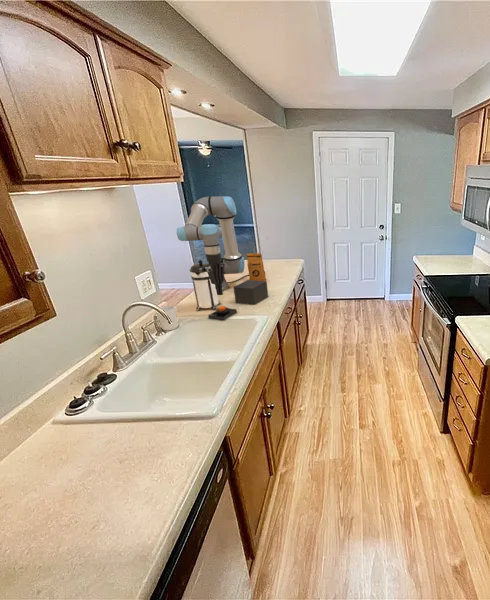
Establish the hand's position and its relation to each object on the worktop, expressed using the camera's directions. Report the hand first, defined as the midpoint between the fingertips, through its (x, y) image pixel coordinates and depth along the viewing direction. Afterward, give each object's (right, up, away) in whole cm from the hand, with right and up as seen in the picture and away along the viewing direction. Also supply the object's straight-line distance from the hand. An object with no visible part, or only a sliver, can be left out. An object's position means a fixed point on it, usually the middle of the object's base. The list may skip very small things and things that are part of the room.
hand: (220, 294), depth 186 cm
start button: (0, -9, +4) cm, 10 cm away
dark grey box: (+8, -3, +30) cm, 31 cm away
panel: (0, -12, +5) cm, 13 cm away
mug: (-22, -18, -9) cm, 30 cm away
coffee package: (-2, +12, +69) cm, 70 cm away
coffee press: (-15, -7, +18) cm, 25 cm away
